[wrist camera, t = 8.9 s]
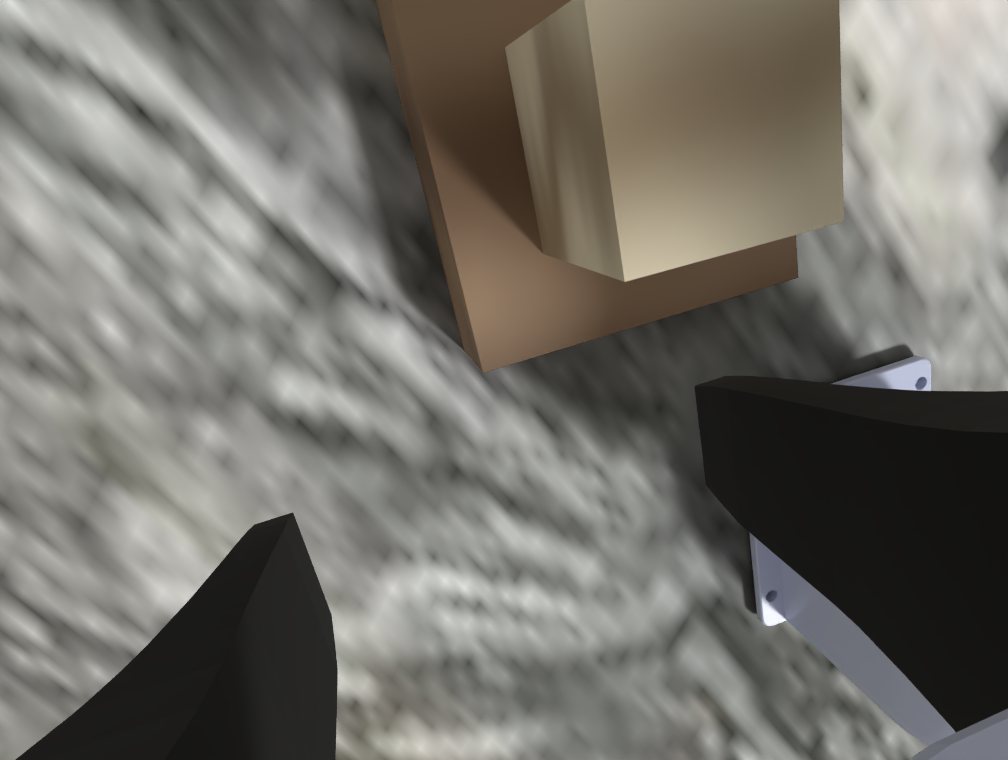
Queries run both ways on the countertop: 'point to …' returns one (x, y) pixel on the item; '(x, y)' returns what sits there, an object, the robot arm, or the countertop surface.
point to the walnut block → (520, 196)
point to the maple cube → (679, 128)
